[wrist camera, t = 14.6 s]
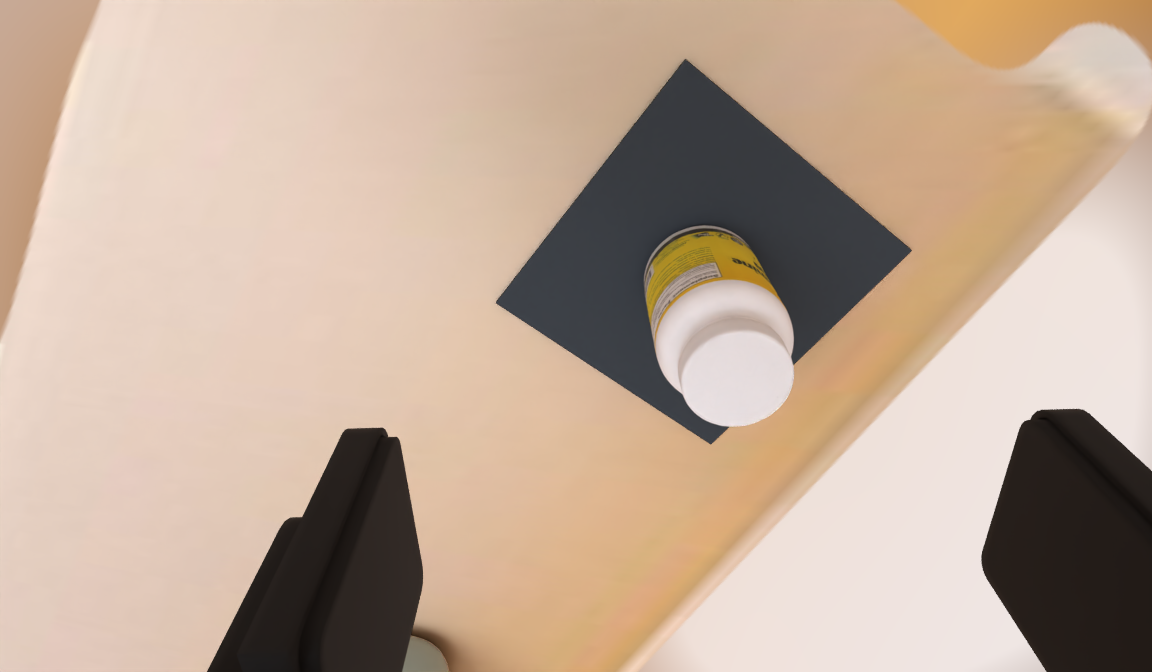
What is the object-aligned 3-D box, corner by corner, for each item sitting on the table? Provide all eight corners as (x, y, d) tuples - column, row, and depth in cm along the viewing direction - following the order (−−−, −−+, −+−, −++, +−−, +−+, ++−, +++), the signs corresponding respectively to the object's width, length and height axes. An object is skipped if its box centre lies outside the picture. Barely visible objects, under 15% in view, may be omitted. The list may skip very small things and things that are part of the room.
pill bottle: (775, 292, 40) (838, 403, 31) (675, 344, 42) (705, 465, 32) (725, 199, 38) (776, 287, 28) (621, 257, 40) (636, 360, 30)
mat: (685, 58, 35) (685, 59, 35) (910, 249, 40) (912, 250, 39) (496, 301, 41) (495, 303, 41) (710, 442, 46) (710, 444, 45)
